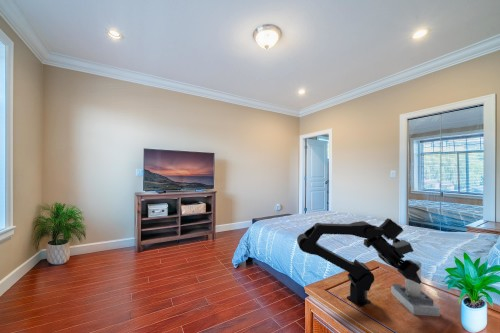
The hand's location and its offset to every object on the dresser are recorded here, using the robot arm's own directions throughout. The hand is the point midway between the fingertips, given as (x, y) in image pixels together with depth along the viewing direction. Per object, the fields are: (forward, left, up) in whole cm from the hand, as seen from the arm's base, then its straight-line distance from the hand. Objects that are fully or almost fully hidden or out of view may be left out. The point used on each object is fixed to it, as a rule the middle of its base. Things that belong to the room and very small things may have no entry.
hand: (412, 276), depth 84 cm
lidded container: (0, 0, -7) cm, 8 cm away
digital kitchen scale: (0, 0, -10) cm, 10 cm away
